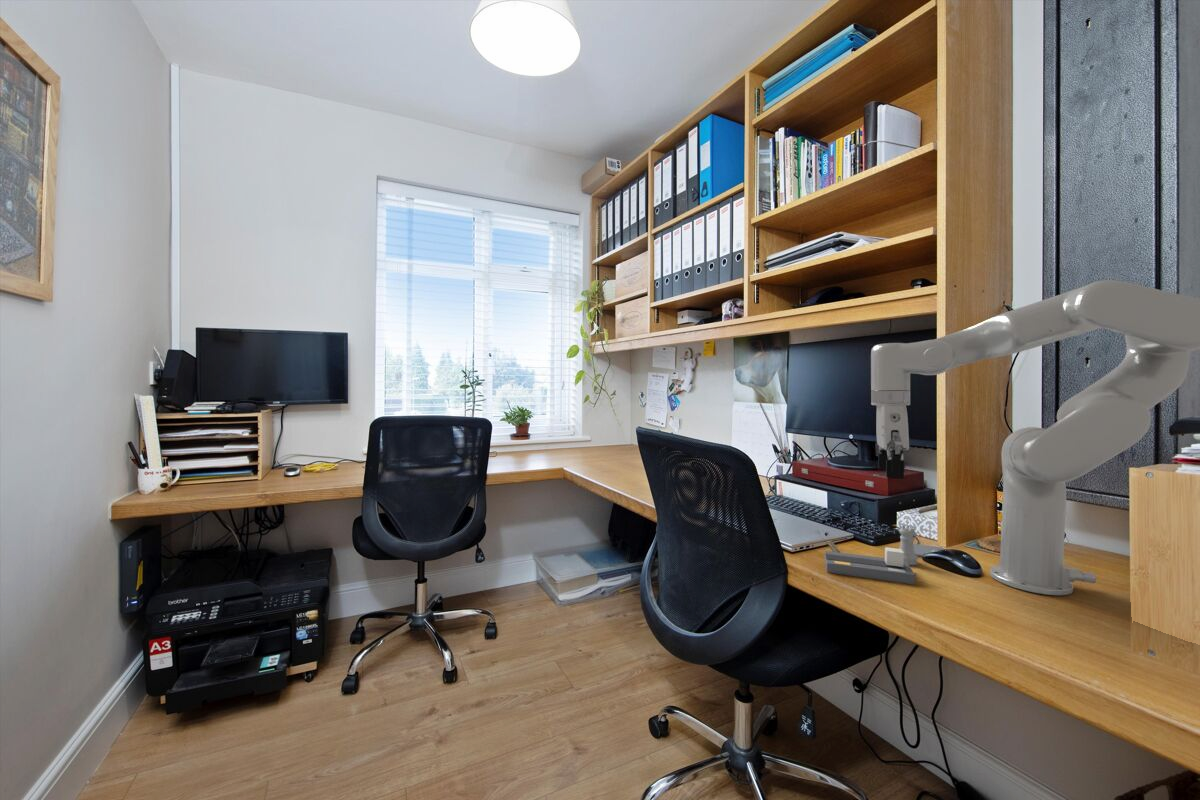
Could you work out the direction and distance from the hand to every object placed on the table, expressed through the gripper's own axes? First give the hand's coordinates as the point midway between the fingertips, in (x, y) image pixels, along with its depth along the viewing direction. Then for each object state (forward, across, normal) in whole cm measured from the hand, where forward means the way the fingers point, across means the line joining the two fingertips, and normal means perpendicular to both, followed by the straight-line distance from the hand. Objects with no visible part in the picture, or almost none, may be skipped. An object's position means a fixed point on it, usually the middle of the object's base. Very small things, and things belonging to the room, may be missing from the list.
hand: (890, 474), depth 108 cm
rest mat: (+20, +10, -9) cm, 24 cm away
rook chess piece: (+20, +1, -3) cm, 20 cm away
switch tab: (+18, -8, +1) cm, 20 cm away
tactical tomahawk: (+20, +8, +11) cm, 24 cm away
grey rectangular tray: (+20, -8, +6) cm, 22 cm away
